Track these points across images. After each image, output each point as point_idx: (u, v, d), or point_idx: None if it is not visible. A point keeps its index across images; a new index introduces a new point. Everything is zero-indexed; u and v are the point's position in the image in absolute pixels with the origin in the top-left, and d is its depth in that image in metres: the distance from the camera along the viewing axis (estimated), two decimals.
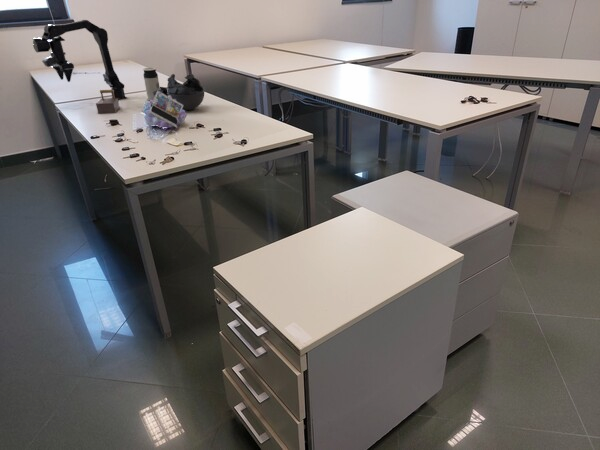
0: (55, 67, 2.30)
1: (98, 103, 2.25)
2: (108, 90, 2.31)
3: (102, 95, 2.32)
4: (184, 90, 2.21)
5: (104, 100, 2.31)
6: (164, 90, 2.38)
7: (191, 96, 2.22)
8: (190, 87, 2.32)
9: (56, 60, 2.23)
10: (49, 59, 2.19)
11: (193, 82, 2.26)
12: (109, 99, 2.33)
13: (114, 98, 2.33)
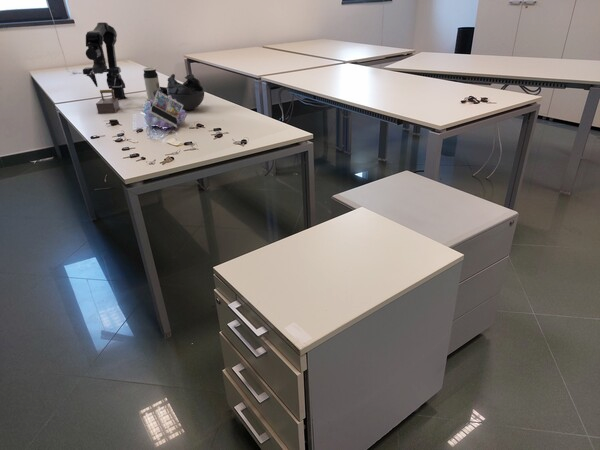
0: (92, 75, 2.29)
1: (98, 103, 2.25)
2: (108, 90, 2.31)
3: (102, 95, 2.32)
4: (184, 90, 2.21)
5: (104, 100, 2.31)
6: (164, 90, 2.38)
7: (191, 96, 2.22)
8: (190, 87, 2.32)
9: None
10: (105, 65, 2.23)
11: (193, 82, 2.26)
12: (109, 99, 2.33)
13: (114, 98, 2.33)
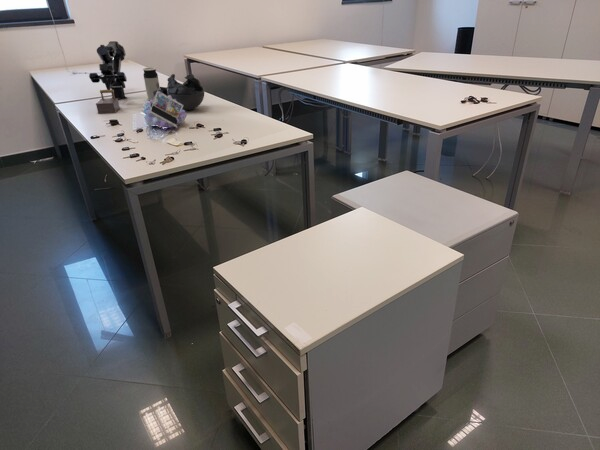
0: (105, 78, 2.34)
1: (98, 103, 2.25)
2: (108, 90, 2.31)
3: (102, 95, 2.32)
4: (184, 90, 2.21)
5: (104, 100, 2.31)
6: (164, 90, 2.38)
7: (191, 96, 2.22)
8: (190, 87, 2.32)
9: (111, 70, 2.35)
10: (112, 64, 2.31)
11: (193, 82, 2.26)
12: (109, 99, 2.33)
13: (114, 98, 2.33)
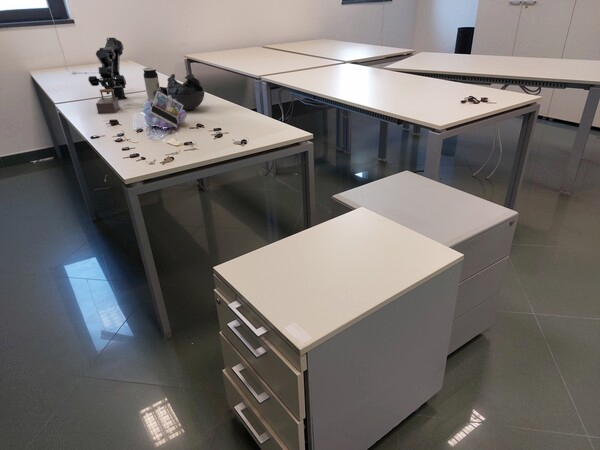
0: (105, 82, 2.32)
1: (98, 103, 2.25)
2: (108, 89, 2.30)
3: (102, 94, 2.31)
4: (184, 90, 2.21)
5: (104, 100, 2.30)
6: (164, 90, 2.38)
7: (191, 96, 2.22)
8: (190, 87, 2.32)
9: (111, 73, 2.33)
10: (111, 67, 2.30)
11: (193, 82, 2.26)
12: (109, 98, 2.32)
13: (114, 97, 2.33)
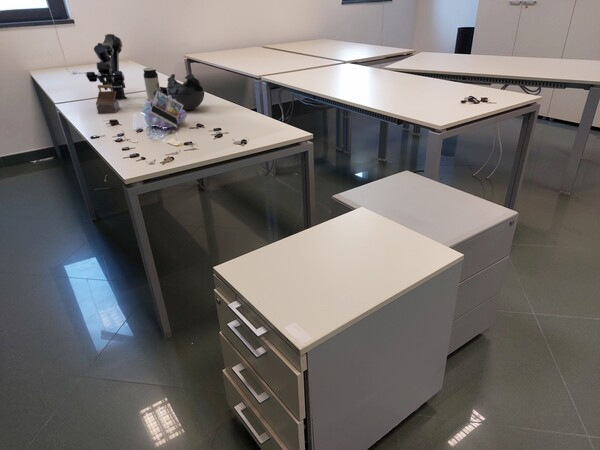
0: (103, 77, 2.29)
1: (98, 103, 2.25)
2: (106, 85, 2.27)
3: (100, 90, 2.29)
4: (184, 90, 2.21)
5: (103, 96, 2.29)
6: (164, 90, 2.38)
7: (191, 96, 2.22)
8: (190, 87, 2.32)
9: (109, 68, 2.30)
10: (109, 62, 2.27)
11: (193, 82, 2.26)
12: (107, 94, 2.31)
13: (112, 92, 2.31)
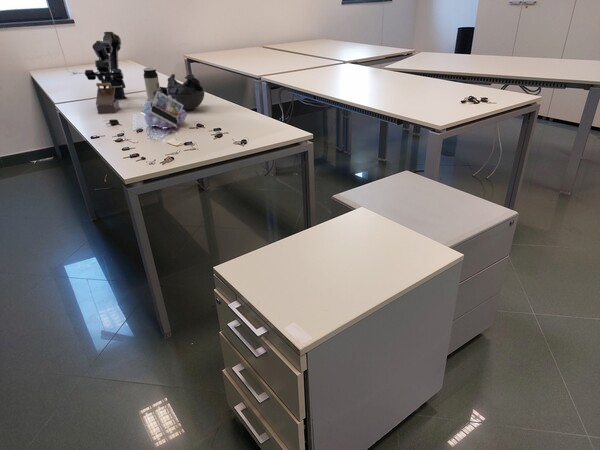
0: (102, 75, 2.27)
1: (98, 103, 2.25)
2: (105, 84, 2.25)
3: (99, 87, 2.27)
4: (184, 90, 2.21)
5: (102, 94, 2.28)
6: (164, 90, 2.38)
7: (191, 96, 2.22)
8: (190, 87, 2.32)
9: (108, 66, 2.28)
10: (108, 60, 2.25)
11: (193, 82, 2.26)
12: (107, 91, 2.29)
13: (111, 90, 2.30)
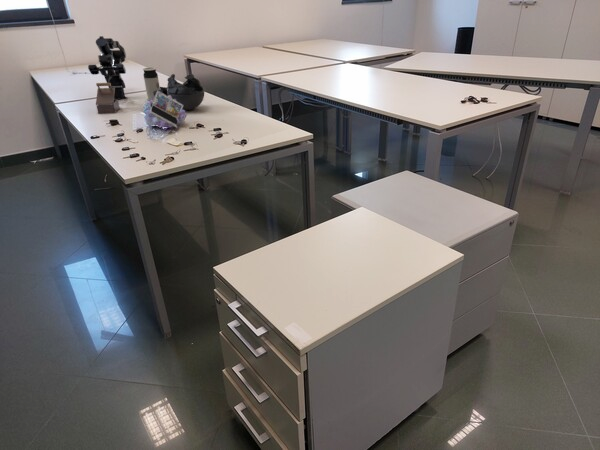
0: (104, 70, 2.34)
1: (98, 103, 2.25)
2: (105, 84, 2.25)
3: (99, 87, 2.27)
4: (184, 90, 2.21)
5: (102, 94, 2.28)
6: (164, 90, 2.38)
7: (191, 96, 2.22)
8: (190, 87, 2.32)
9: (110, 61, 2.34)
10: (111, 55, 2.31)
11: (193, 82, 2.26)
12: (107, 91, 2.29)
13: (111, 90, 2.30)
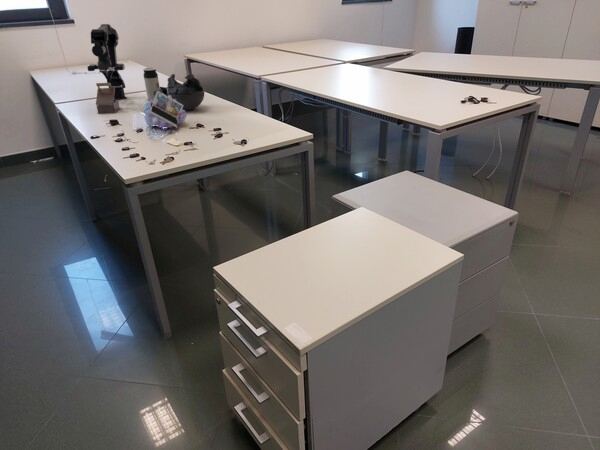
0: (105, 71, 2.34)
1: (98, 103, 2.25)
2: (105, 84, 2.25)
3: (99, 87, 2.27)
4: (184, 90, 2.21)
5: (102, 94, 2.28)
6: (164, 90, 2.38)
7: (191, 96, 2.22)
8: (190, 87, 2.32)
9: None
10: (110, 62, 2.28)
11: (193, 82, 2.26)
12: (107, 91, 2.29)
13: (111, 90, 2.30)
